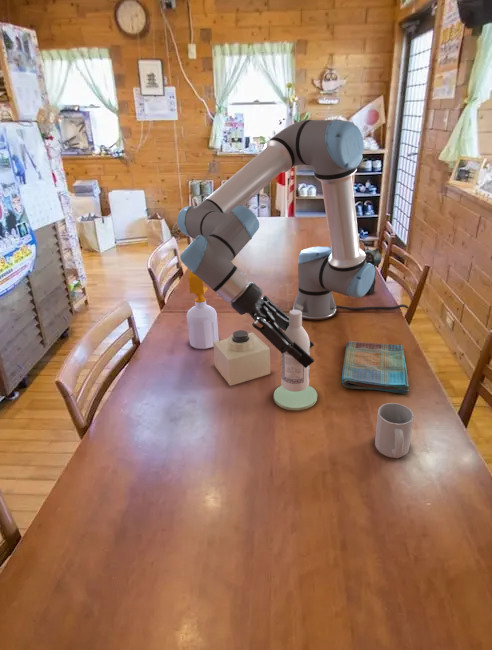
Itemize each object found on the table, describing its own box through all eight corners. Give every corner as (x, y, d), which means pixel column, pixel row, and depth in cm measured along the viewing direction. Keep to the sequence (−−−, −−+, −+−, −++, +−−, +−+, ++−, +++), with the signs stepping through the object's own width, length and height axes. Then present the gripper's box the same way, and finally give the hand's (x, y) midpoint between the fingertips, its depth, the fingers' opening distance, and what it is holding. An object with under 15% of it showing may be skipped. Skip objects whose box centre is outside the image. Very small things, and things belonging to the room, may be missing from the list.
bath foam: (292, 374, 118) (293, 303, 109) (314, 383, 114) (316, 310, 105) (275, 385, 113) (274, 312, 104) (297, 396, 109) (298, 321, 100)
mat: (309, 382, 121) (310, 379, 120) (322, 406, 111) (323, 404, 111) (269, 388, 119) (269, 385, 118) (279, 413, 109) (279, 410, 109)
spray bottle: (221, 336, 145) (216, 263, 135) (215, 350, 137) (208, 273, 127) (194, 335, 146) (186, 262, 136) (186, 349, 138) (177, 273, 128)
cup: (405, 436, 101) (409, 403, 97) (415, 468, 92) (420, 434, 88) (372, 435, 101) (375, 402, 97) (379, 468, 92) (383, 433, 88)
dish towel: (340, 388, 118) (341, 380, 117) (345, 345, 139) (346, 338, 138) (408, 395, 115) (410, 386, 114) (403, 349, 136) (404, 342, 134)
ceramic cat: (379, 292, 176) (384, 242, 168) (370, 297, 172) (374, 246, 163) (338, 280, 189) (340, 233, 180) (328, 284, 184) (330, 236, 176)
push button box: (253, 356, 134) (252, 325, 129) (270, 373, 125) (269, 341, 121) (215, 366, 129) (212, 335, 124) (230, 385, 120) (227, 353, 116)
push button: (244, 335, 125) (244, 328, 124) (250, 341, 122) (250, 334, 121) (231, 338, 123) (230, 332, 123) (236, 345, 120) (236, 338, 119)
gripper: (235, 286, 114) (299, 345, 120) (221, 321, 96) (297, 388, 102) (255, 267, 111) (320, 327, 117) (245, 298, 93) (322, 368, 99)
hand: (309, 355), depth 109 cm, fingers closed on bath foam, 7 cm apart
